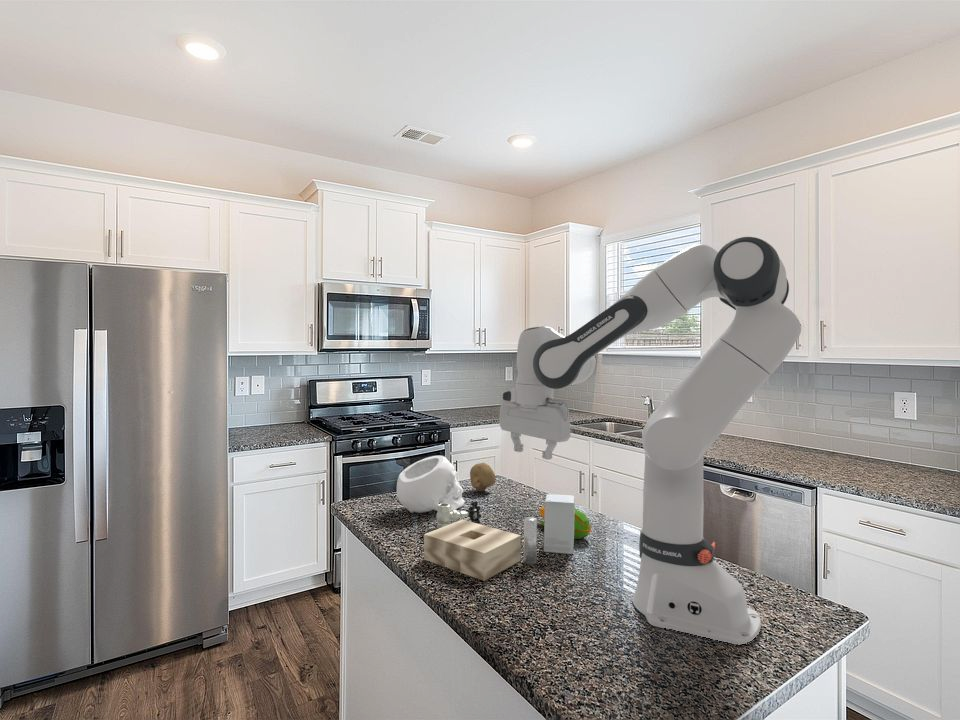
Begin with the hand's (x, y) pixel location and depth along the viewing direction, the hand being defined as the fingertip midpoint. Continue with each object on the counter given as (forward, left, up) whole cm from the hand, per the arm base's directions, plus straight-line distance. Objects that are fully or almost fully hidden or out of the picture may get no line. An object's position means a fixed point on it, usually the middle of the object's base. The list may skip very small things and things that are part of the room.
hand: (532, 455), depth 122 cm
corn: (+4, -23, -25) cm, 34 cm away
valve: (+29, -8, -26) cm, 40 cm away
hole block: (+11, +8, -25) cm, 29 cm away
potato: (+46, -41, -25) cm, 67 cm away
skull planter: (+45, -14, -25) cm, 54 cm away
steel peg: (0, 0, -25) cm, 25 cm away
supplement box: (-1, -12, -25) cm, 28 cm away
